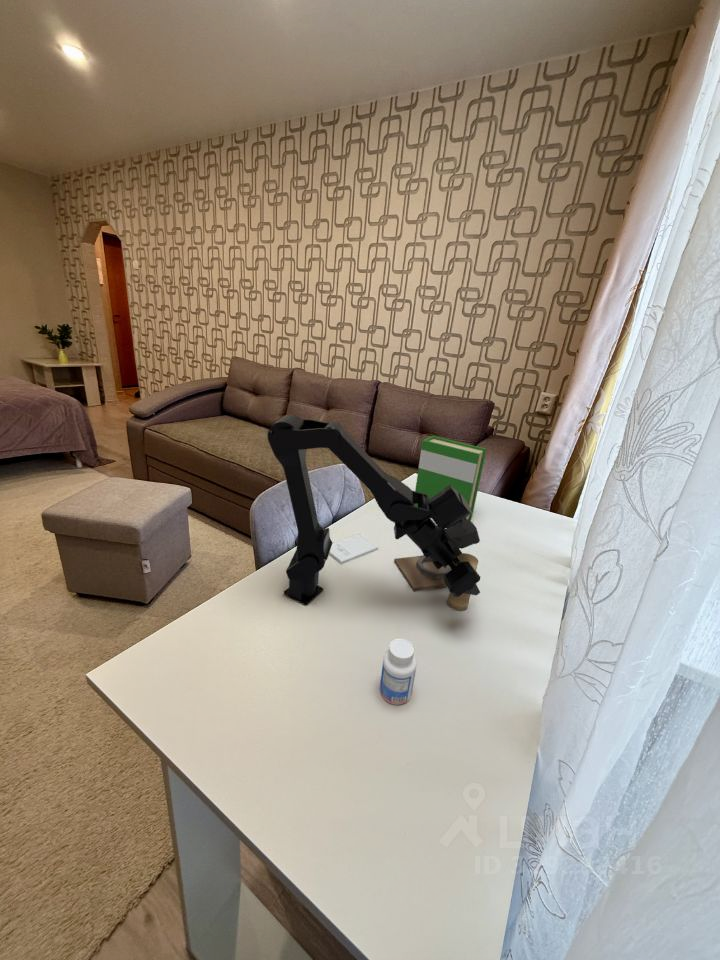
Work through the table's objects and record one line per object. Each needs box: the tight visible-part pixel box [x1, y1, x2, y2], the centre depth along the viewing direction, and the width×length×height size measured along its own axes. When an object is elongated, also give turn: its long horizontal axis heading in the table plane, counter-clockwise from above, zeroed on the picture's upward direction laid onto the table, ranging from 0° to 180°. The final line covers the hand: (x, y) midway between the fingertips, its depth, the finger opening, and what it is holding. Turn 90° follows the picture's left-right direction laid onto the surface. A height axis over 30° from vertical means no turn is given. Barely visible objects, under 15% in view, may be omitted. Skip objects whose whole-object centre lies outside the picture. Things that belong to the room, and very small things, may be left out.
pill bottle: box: [379, 638, 418, 705], centre depth 64 cm, size 6×5×10 cm
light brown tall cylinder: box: [447, 552, 479, 612], centre depth 86 cm, size 4×4×12 cm
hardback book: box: [414, 435, 488, 521], centre depth 124 cm, size 18×7×24 cm, turn 57°
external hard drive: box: [328, 533, 379, 565], centre depth 105 cm, size 2×8×12 cm
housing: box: [393, 555, 452, 593], centre depth 98 cm, size 16×12×2 cm
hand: (468, 579), depth 86 cm, fingers open, 9 cm apart
